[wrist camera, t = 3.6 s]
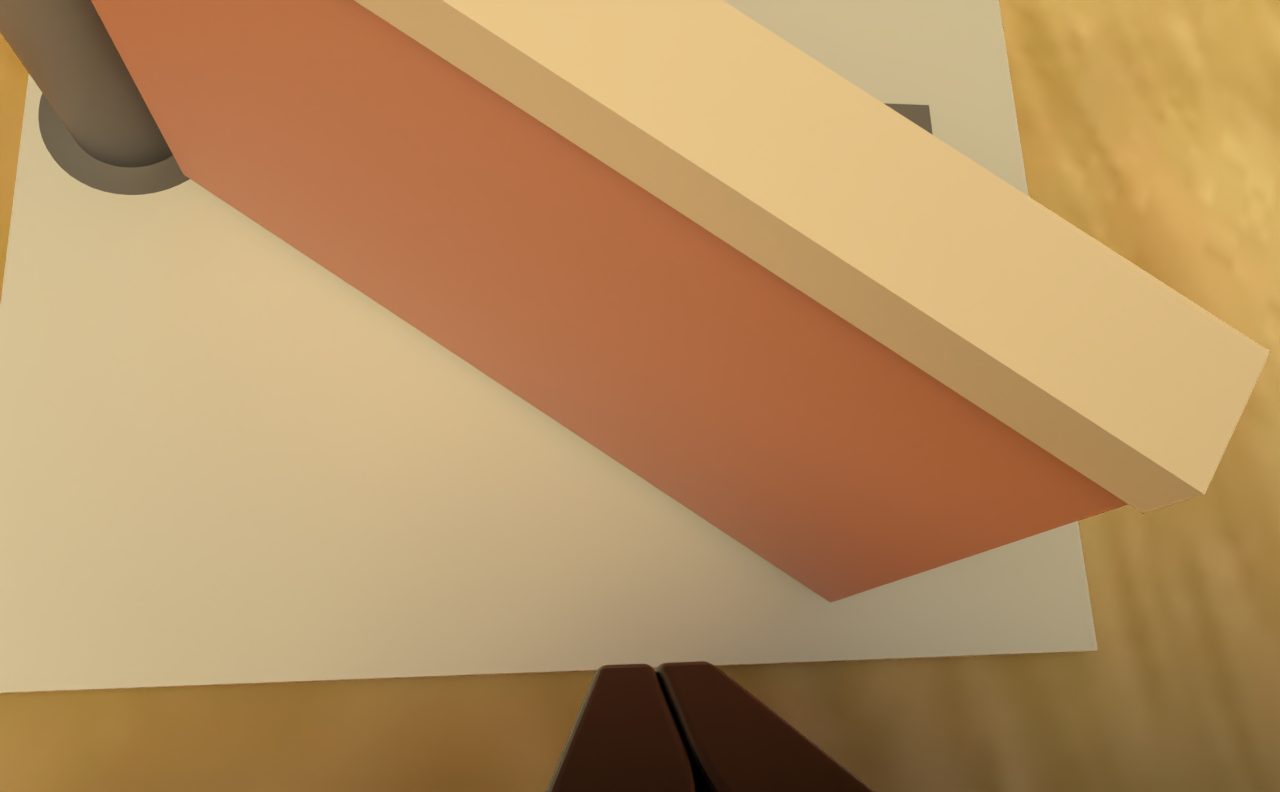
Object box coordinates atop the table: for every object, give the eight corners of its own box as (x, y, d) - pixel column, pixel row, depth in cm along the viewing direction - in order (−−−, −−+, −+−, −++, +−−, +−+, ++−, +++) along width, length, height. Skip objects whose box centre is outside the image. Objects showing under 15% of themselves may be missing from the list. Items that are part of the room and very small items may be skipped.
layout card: (1086, 651, 16) (1099, 649, 16) (-37, 694, 14) (-49, 693, 13) (953, -241, 20) (960, -256, 20) (85, -317, 18) (78, -336, 18)
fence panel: (176, 182, 15) (-129, -370, 8) (232, 120, 16) (-4, -467, 8) (824, 612, 15) (1204, 495, 7) (866, 538, 15) (1269, 352, 8)
